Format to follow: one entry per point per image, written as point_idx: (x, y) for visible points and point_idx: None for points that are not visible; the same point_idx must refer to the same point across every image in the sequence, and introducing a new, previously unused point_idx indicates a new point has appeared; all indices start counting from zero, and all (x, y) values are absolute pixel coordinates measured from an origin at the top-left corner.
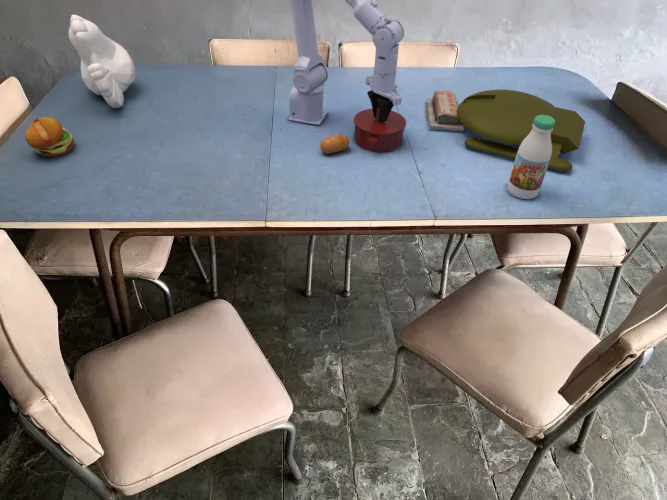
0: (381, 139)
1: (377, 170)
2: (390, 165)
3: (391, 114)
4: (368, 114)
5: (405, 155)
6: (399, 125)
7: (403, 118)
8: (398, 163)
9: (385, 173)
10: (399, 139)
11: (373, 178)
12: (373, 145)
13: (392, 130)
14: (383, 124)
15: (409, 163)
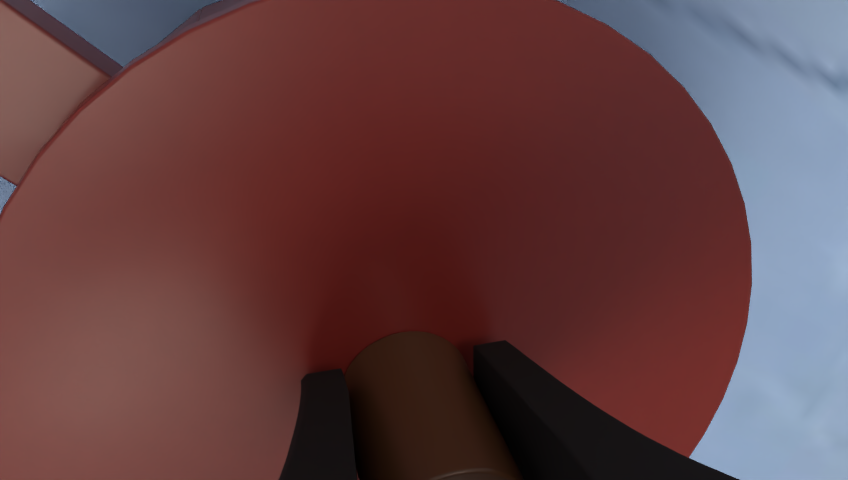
0: None
1: (757, 416)
2: (765, 310)
3: (288, 146)
4: (174, 474)
5: (727, 120)
6: (655, 191)
7: (500, 10)
8: (782, 240)
9: (816, 380)
10: None
11: (808, 466)
12: None
13: (704, 331)
14: None
15: (838, 152)
